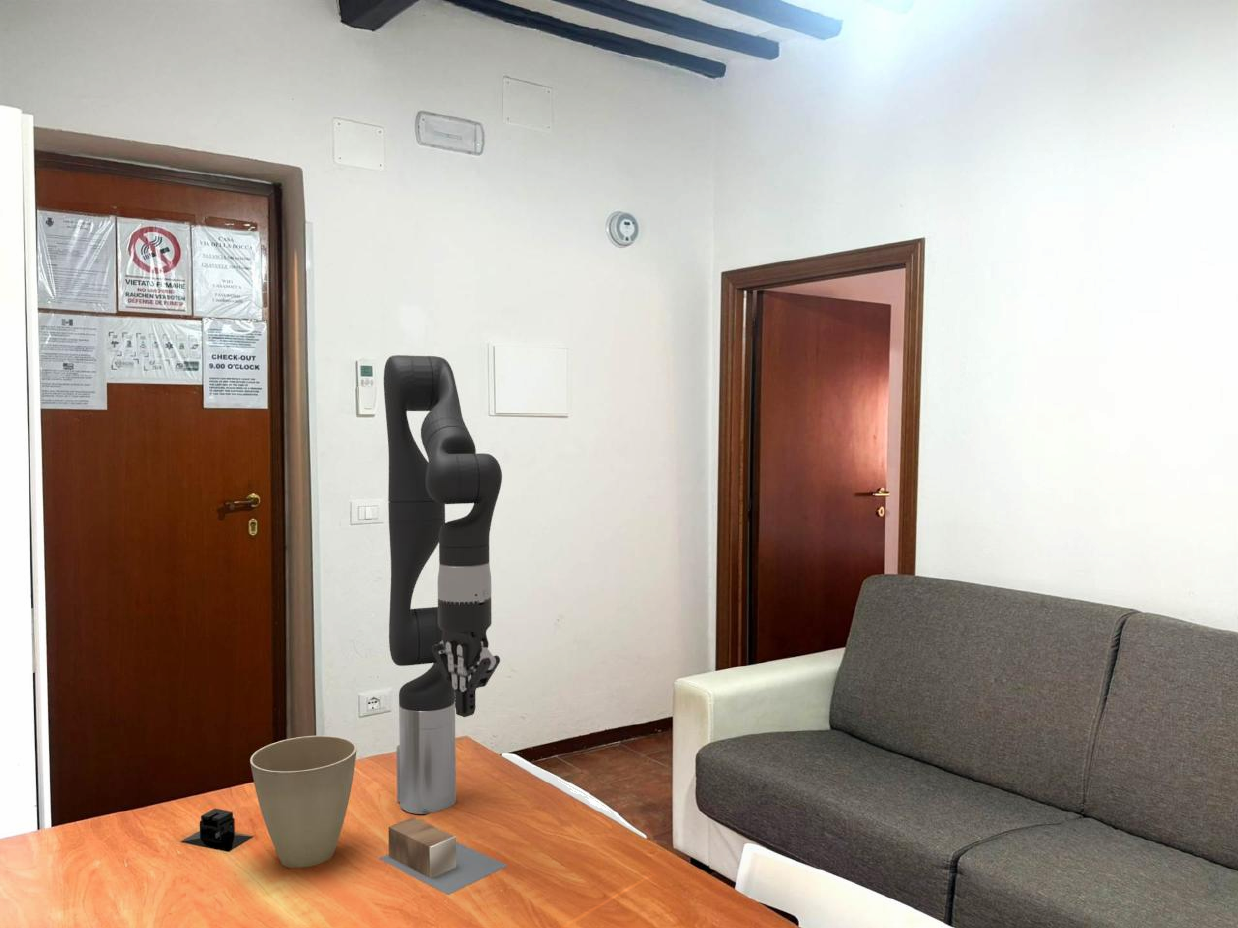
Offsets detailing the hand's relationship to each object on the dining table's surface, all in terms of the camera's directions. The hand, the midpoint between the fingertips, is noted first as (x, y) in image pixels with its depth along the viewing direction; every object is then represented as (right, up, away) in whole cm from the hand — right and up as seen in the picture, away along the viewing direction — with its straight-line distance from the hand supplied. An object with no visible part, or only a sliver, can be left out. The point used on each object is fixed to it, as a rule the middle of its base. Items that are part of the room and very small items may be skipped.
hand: (465, 714), depth 136 cm
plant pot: (-24, -23, +6) cm, 34 cm away
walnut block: (-3, -20, 0) cm, 21 cm away
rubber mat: (-4, -23, +3) cm, 23 cm away
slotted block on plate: (-40, -23, +12) cm, 48 cm away
